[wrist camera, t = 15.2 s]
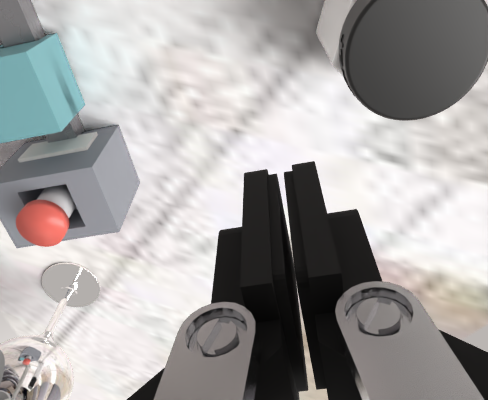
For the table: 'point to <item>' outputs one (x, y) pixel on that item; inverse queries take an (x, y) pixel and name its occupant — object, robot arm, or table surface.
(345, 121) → the table surface
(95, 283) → the wineglass
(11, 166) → the housing
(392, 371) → the robot arm
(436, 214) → the table surface
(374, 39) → the jar
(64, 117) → the carriage
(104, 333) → the table surface
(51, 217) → the plunger
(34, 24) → the rail
